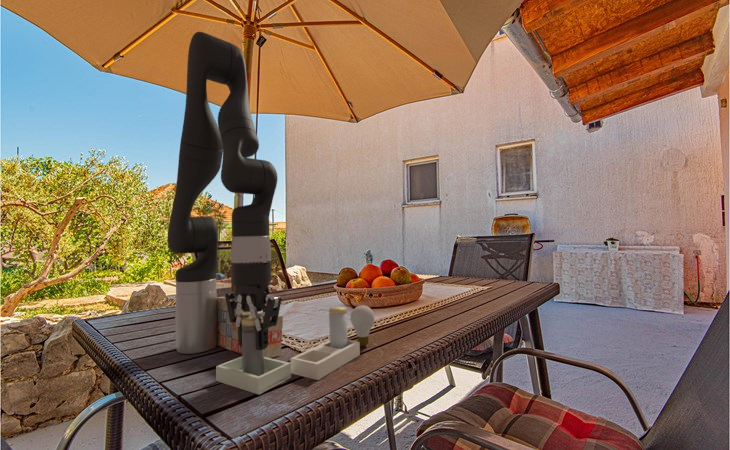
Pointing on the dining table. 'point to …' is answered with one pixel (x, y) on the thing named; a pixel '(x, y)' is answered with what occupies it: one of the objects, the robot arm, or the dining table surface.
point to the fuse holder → (323, 359)
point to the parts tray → (256, 384)
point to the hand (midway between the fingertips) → (253, 346)
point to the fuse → (338, 327)
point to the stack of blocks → (229, 332)
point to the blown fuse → (251, 348)
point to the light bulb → (362, 323)
